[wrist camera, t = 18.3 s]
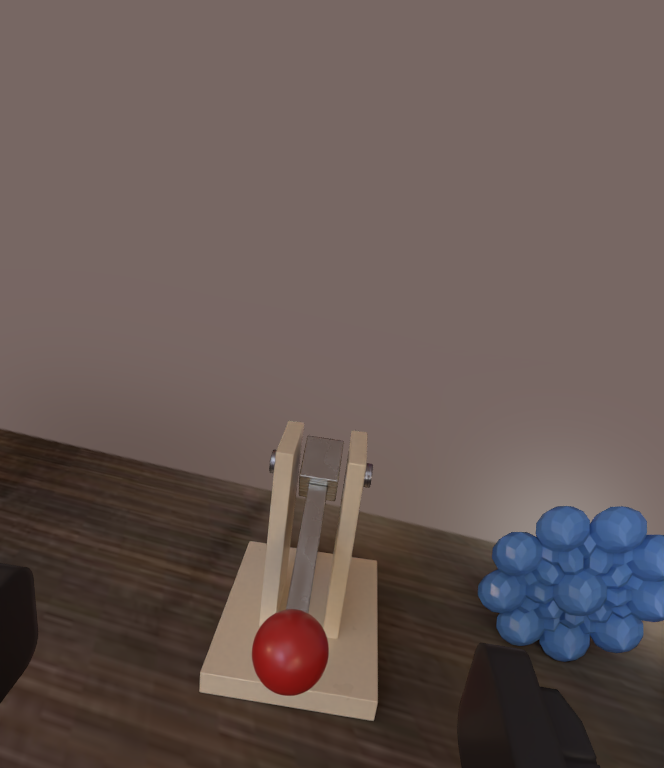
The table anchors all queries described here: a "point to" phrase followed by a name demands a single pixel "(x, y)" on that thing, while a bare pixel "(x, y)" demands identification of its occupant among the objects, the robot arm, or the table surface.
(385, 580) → the table surface
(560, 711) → the robot arm
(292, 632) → the power lever
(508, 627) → the grapes
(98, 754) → the table surface
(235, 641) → the switch bracket
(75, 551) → the table surface
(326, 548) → the table surface
